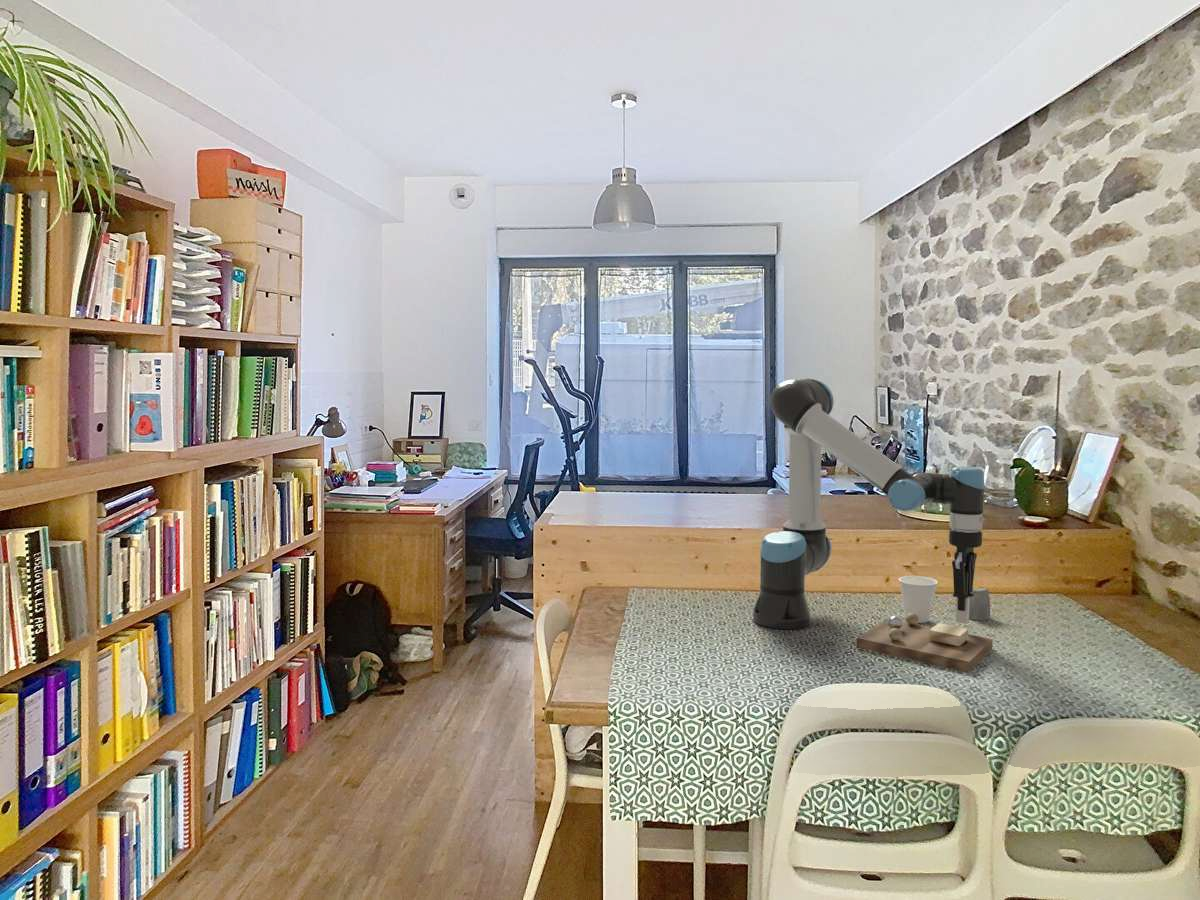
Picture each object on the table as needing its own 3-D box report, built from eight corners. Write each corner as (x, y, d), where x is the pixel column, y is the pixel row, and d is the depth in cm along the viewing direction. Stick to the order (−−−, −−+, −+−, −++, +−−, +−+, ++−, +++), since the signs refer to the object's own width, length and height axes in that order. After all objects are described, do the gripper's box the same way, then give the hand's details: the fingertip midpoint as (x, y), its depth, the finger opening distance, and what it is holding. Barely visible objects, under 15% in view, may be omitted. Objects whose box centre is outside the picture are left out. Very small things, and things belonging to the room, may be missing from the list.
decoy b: (904, 625, 213) (904, 613, 213) (908, 622, 216) (908, 610, 215) (916, 627, 212) (916, 615, 211) (919, 624, 214) (920, 613, 214)
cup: (939, 626, 220) (941, 586, 219) (900, 624, 222) (901, 584, 221) (932, 615, 230) (934, 576, 229) (894, 613, 232) (896, 574, 231)
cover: (928, 640, 201) (929, 630, 201) (938, 632, 206) (938, 623, 206) (959, 646, 196) (959, 636, 196) (967, 638, 202) (968, 628, 202)
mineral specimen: (997, 614, 229) (996, 587, 227) (979, 626, 225) (978, 598, 223) (972, 606, 235) (971, 580, 233) (954, 618, 231) (953, 591, 229)
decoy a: (886, 640, 201) (887, 628, 201) (891, 637, 203) (891, 625, 203) (899, 643, 199) (899, 631, 199) (903, 640, 202) (904, 628, 201)
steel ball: (885, 630, 209) (885, 616, 209) (890, 626, 212) (890, 613, 212) (899, 633, 207) (899, 619, 207) (904, 629, 210) (904, 616, 209)
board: (856, 647, 204) (856, 637, 203) (885, 627, 219) (886, 618, 219) (968, 672, 187) (969, 661, 187) (992, 649, 203) (992, 639, 203)
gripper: (974, 535, 200) (970, 631, 202) (988, 527, 210) (985, 618, 212) (942, 531, 204) (938, 625, 206) (957, 523, 214) (954, 613, 217)
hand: (962, 622), depth 209 cm, fingers closed
